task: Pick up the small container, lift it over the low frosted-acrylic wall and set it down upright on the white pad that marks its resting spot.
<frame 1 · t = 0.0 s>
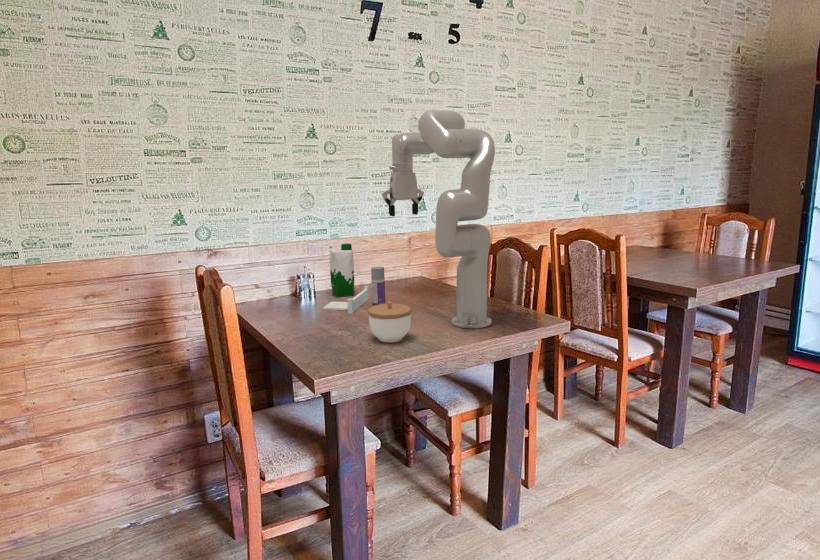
hand: (403, 215, 208), 31 cm above the table, tool pointing down, fingers open, 9 cm apart
acrylic wall: (359, 305, 201), on the table
container: (379, 309, 195), on the table
milk carton: (343, 295, 219), on the table
lidded bowl: (390, 339, 162), on the table
white pad: (339, 306, 200), on the table
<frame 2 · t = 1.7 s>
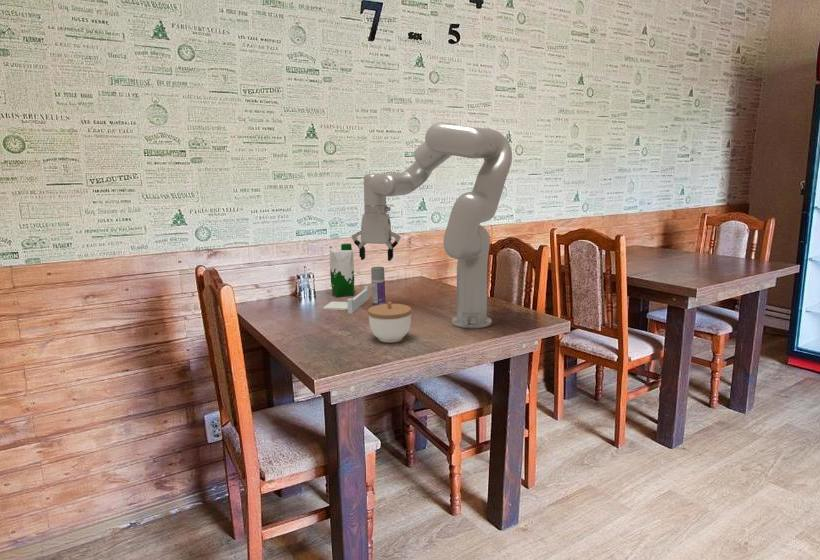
hand: (376, 259, 192), 18 cm above the table, tool pointing down, fingers open, 9 cm apart
nothing on the table moved.
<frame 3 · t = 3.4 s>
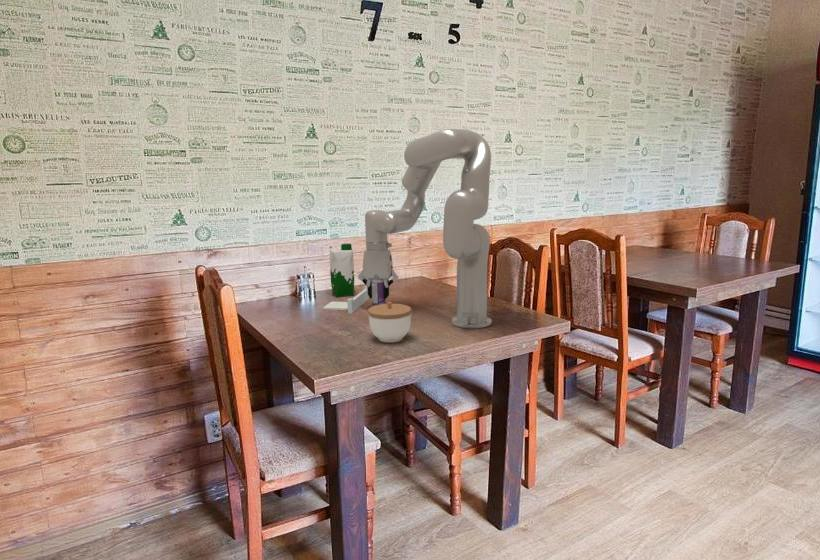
hand: (378, 297, 194), 4 cm above the table, tool pointing down, fingers closed on container, 4 cm apart
container: (379, 309, 195), on the table, touching gripper
everything else where it was.
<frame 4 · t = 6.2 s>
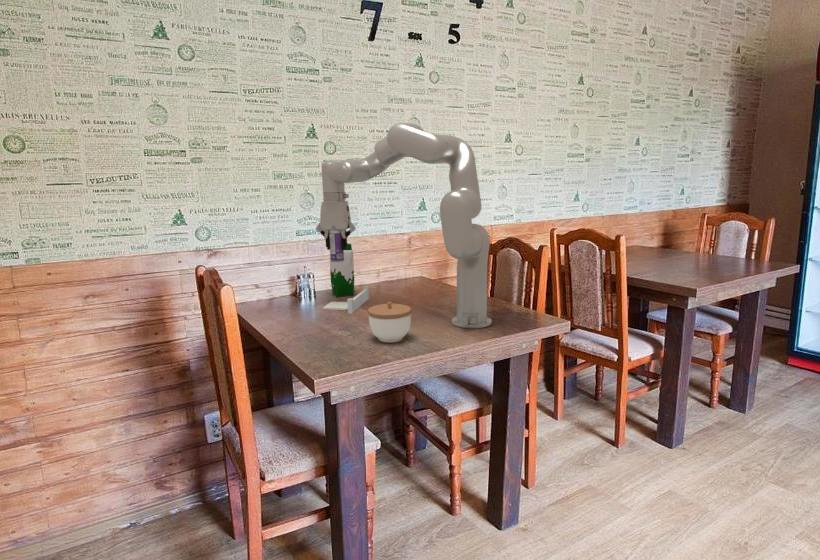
hand: (336, 248, 196), 21 cm above the table, tool pointing down, fingers closed on container, 4 cm apart
container: (337, 261, 197), point 17 cm above the table, touching gripper
everything else where it was.
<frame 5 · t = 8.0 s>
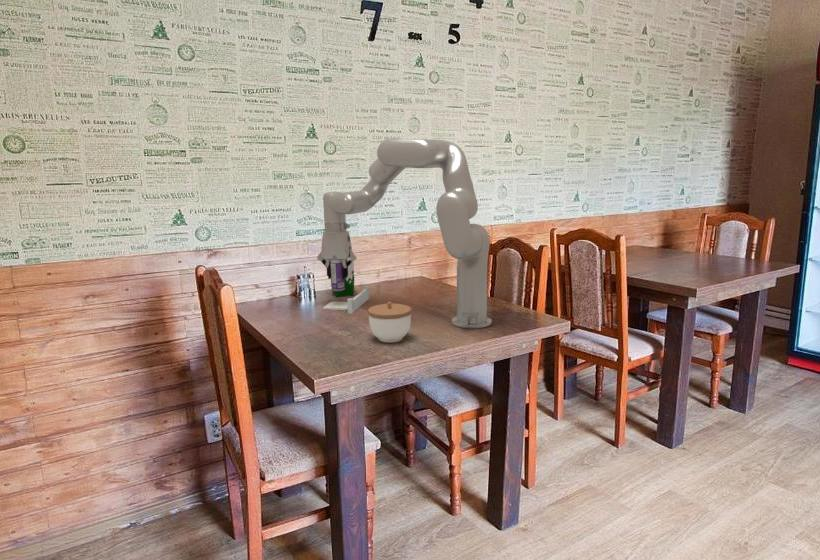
hand: (337, 277, 198), 11 cm above the table, tool pointing down, fingers closed on container, 4 cm apart
container: (338, 290, 199), point 6 cm above the table, touching gripper
everything else where it was.
when the fingers open (6 cm above the table, at t = 9.3 s): container drops 1 cm, resting on white pad.
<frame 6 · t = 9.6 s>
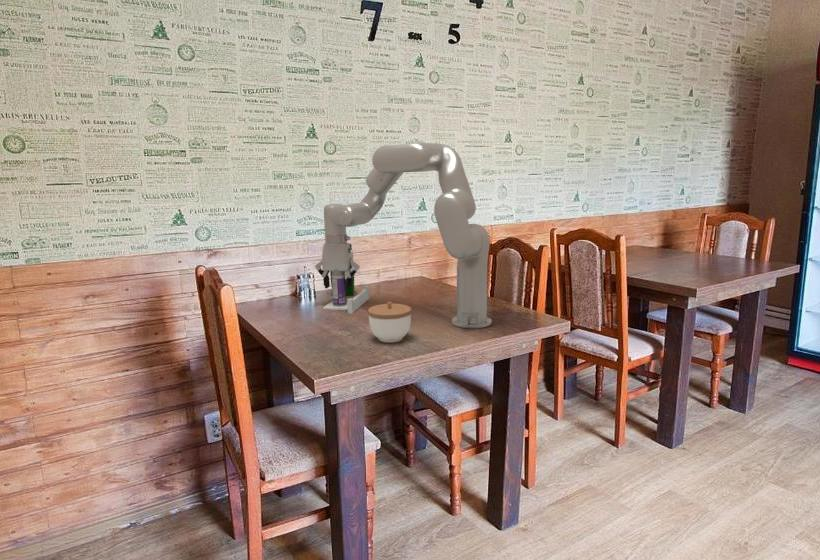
hand: (338, 287, 199), 7 cm above the table, tool pointing down, fingers open, 7 cm apart
container: (339, 305, 200), resting on white pad
everything else where it was.
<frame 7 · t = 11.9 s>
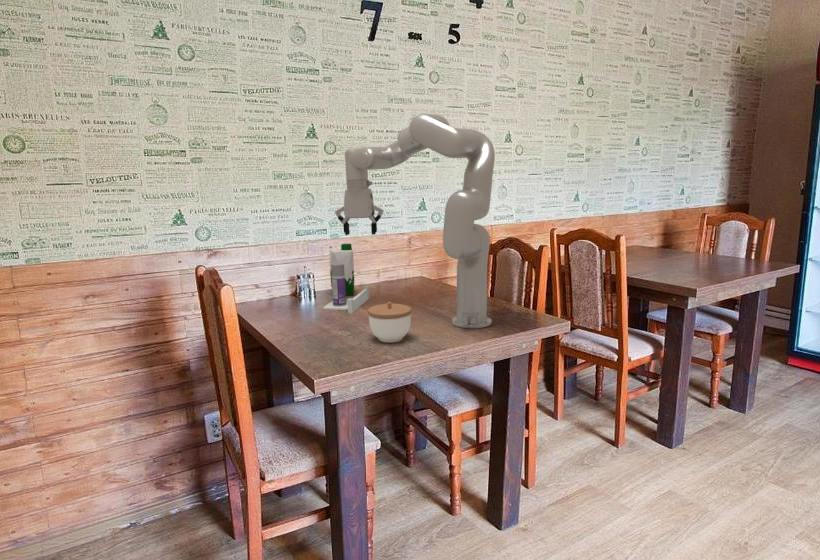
hand: (360, 234, 195), 26 cm above the table, tool pointing down, fingers open, 9 cm apart
nothing on the table moved.
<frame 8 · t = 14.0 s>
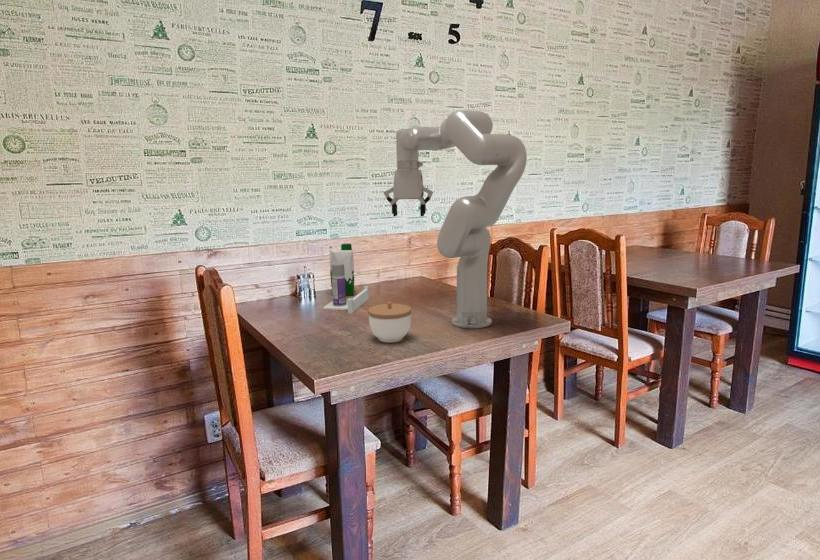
hand: (408, 215, 193), 32 cm above the table, tool pointing down, fingers open, 9 cm apart
nothing on the table moved.
at the end: container inside the target area on the white pad (0.3 cm from its centre), point 0.4 cm above the white pad's base; container tilted 0°; the gripper is holding nothing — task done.
